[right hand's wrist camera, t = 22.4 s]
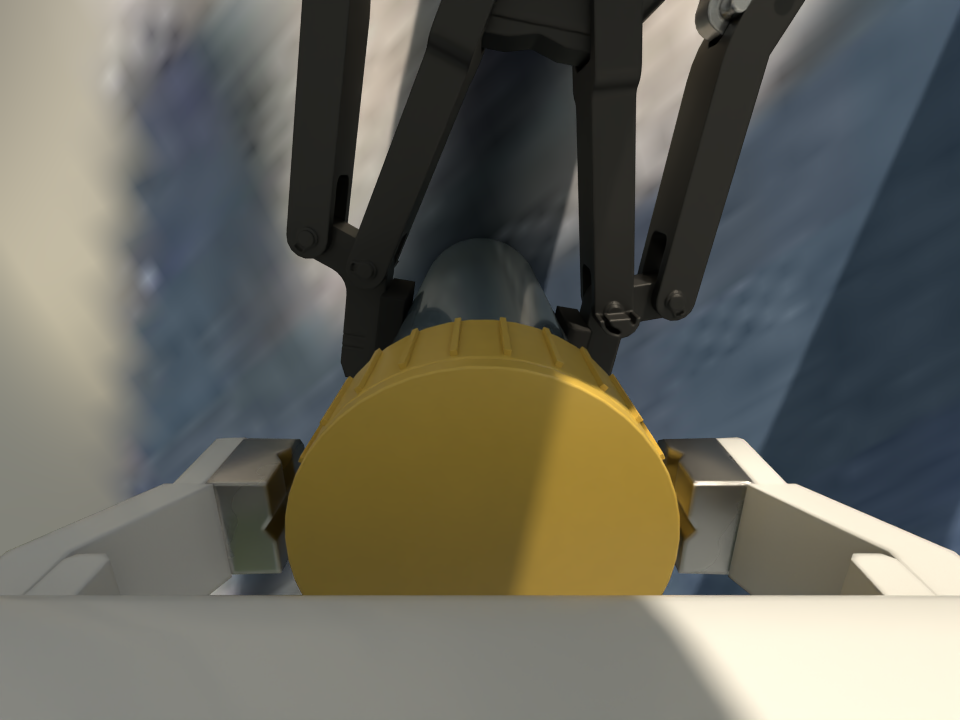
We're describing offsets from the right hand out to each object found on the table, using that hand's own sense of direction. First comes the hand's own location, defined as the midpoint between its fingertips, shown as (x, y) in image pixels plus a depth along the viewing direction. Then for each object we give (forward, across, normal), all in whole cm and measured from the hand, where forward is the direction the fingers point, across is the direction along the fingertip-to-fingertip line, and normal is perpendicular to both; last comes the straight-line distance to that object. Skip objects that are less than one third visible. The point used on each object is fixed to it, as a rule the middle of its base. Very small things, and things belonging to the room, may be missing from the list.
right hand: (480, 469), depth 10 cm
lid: (-2, 0, 0) cm, 2 cm away
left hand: (+8, -1, -5) cm, 10 cm away
